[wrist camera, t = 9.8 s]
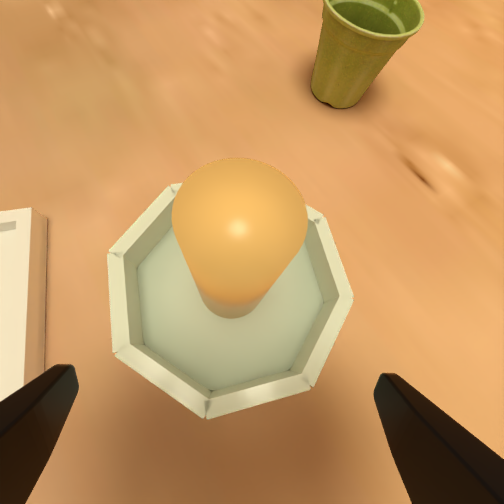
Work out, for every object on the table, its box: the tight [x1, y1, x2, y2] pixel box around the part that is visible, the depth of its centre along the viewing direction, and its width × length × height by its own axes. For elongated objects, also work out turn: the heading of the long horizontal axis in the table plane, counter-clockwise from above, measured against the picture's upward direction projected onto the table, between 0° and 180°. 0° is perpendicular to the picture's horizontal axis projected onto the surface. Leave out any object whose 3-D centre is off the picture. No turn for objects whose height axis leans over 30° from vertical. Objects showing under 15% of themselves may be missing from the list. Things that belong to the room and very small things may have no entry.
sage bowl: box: [107, 183, 354, 420], centre depth 20 cm, size 16×16×4 cm
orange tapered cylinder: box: [172, 158, 308, 319], centre depth 15 cm, size 5×5×12 cm
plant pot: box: [311, 0, 424, 108], centre depth 27 cm, size 9×9×9 cm
